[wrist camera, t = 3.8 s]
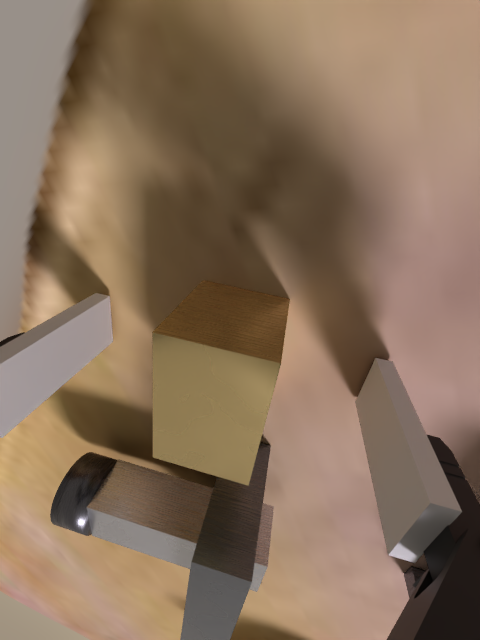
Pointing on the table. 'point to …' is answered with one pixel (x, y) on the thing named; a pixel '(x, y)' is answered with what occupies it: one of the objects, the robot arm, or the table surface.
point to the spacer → (216, 378)
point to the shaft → (142, 510)
